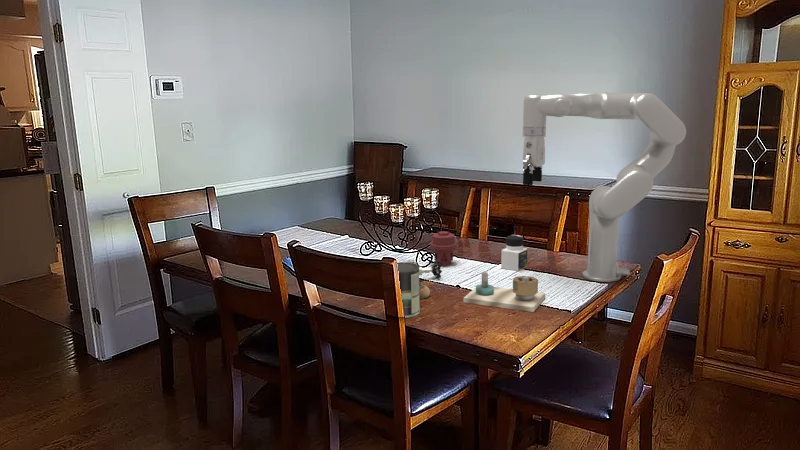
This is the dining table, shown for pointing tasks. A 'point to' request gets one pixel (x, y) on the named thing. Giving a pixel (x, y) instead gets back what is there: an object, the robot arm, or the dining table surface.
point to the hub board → (502, 297)
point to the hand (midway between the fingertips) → (532, 183)
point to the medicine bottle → (514, 254)
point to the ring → (525, 286)
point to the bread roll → (423, 291)
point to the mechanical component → (443, 247)
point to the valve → (434, 269)
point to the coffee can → (409, 288)
